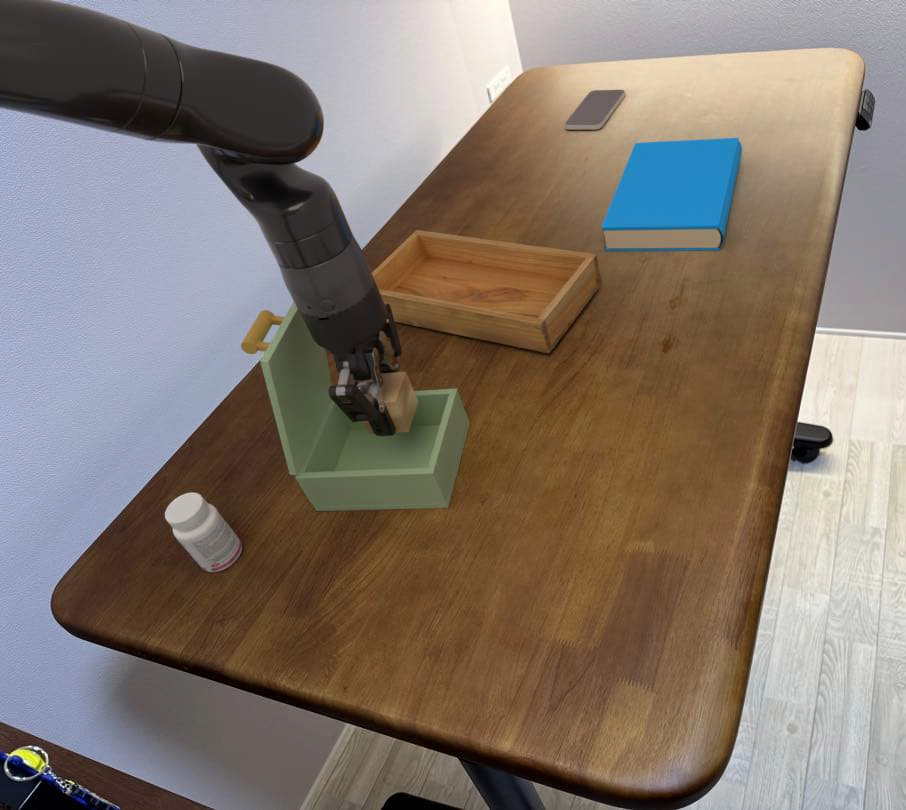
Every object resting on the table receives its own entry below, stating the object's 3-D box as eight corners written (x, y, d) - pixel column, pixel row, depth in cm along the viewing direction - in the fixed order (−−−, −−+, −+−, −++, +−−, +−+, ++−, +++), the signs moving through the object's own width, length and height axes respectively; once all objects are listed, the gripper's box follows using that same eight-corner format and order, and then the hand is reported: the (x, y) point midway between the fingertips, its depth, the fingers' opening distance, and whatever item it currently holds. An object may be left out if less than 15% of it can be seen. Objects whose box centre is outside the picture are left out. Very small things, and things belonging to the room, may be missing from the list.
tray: (367, 318, 112) (353, 286, 108) (426, 258, 121) (415, 227, 117) (549, 359, 98) (540, 324, 94) (603, 288, 106) (597, 253, 102)
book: (600, 228, 110) (633, 140, 126) (605, 253, 113) (636, 165, 129) (724, 225, 104) (741, 134, 121) (725, 252, 107) (742, 159, 124)
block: (408, 432, 82) (395, 401, 79) (369, 433, 83) (354, 404, 80) (418, 401, 85) (405, 371, 82) (380, 404, 86) (366, 374, 83)
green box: (470, 423, 92) (457, 388, 88) (448, 508, 83) (432, 473, 80) (349, 429, 96) (331, 395, 92) (316, 511, 87) (294, 477, 83)
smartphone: (626, 89, 149) (600, 125, 140) (627, 94, 150) (600, 130, 140) (590, 90, 152) (562, 125, 143) (591, 94, 153) (563, 130, 143)
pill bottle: (250, 537, 86) (214, 488, 80) (232, 574, 83) (193, 526, 77) (212, 536, 87) (174, 489, 81) (193, 573, 84) (152, 526, 78)
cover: (313, 280, 80) (269, 274, 80) (268, 361, 71) (219, 355, 71) (333, 393, 91) (295, 388, 92) (296, 475, 83) (254, 469, 83)
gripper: (321, 247, 78) (378, 373, 89) (268, 340, 68) (340, 468, 79) (391, 240, 76) (440, 369, 88) (348, 334, 66) (409, 465, 78)
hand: (392, 415), depth 84 cm, fingers closed on block, 4 cm apart
